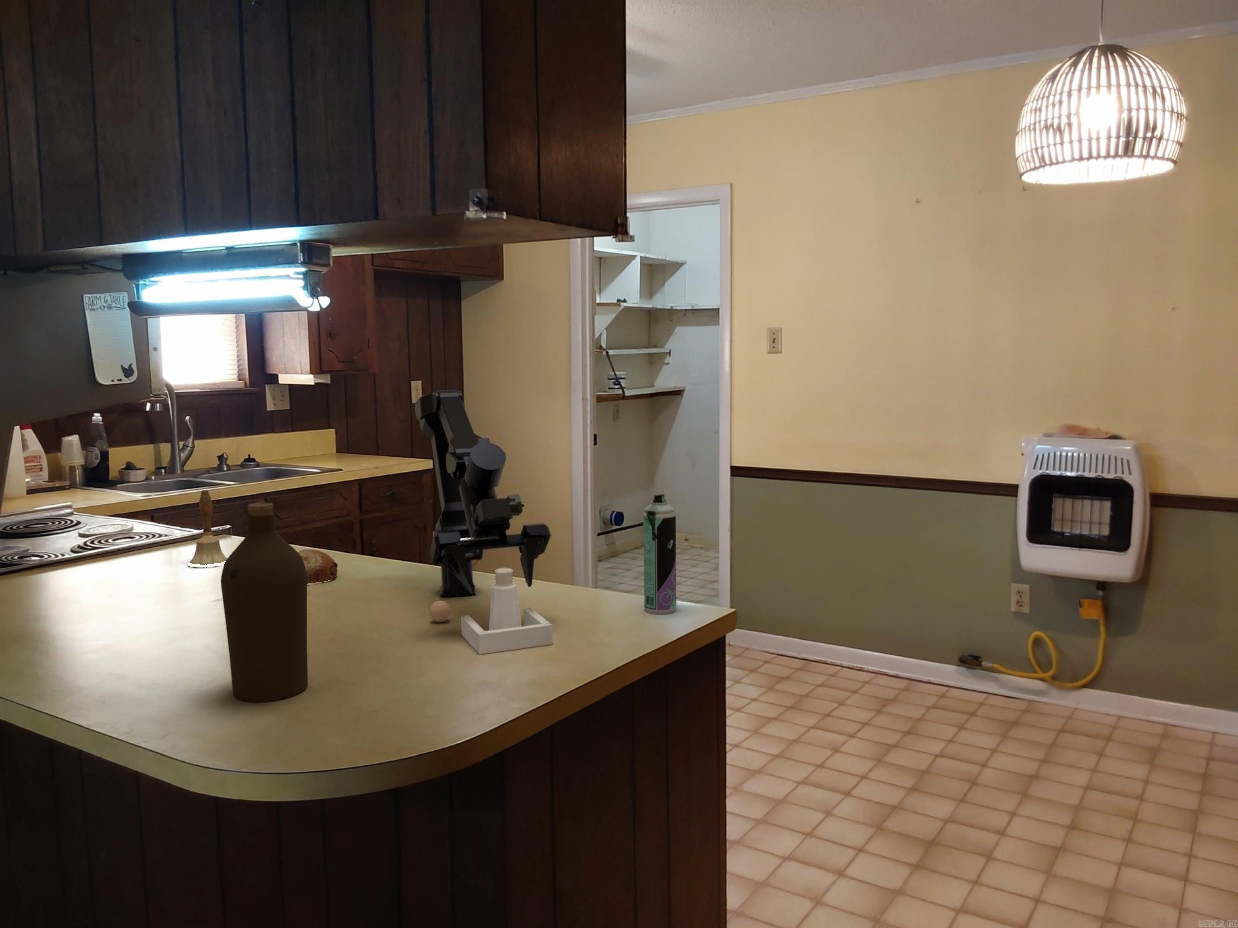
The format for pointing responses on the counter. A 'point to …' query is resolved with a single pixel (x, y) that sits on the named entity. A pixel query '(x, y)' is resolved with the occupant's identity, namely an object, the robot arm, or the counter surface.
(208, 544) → the wooden handled brush
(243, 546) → the dark brown bottle
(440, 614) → the ball
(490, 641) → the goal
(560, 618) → the counter surface
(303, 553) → the bread roll
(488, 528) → the robot arm
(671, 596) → the spray can
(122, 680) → the counter surface
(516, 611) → the pepper shaker
